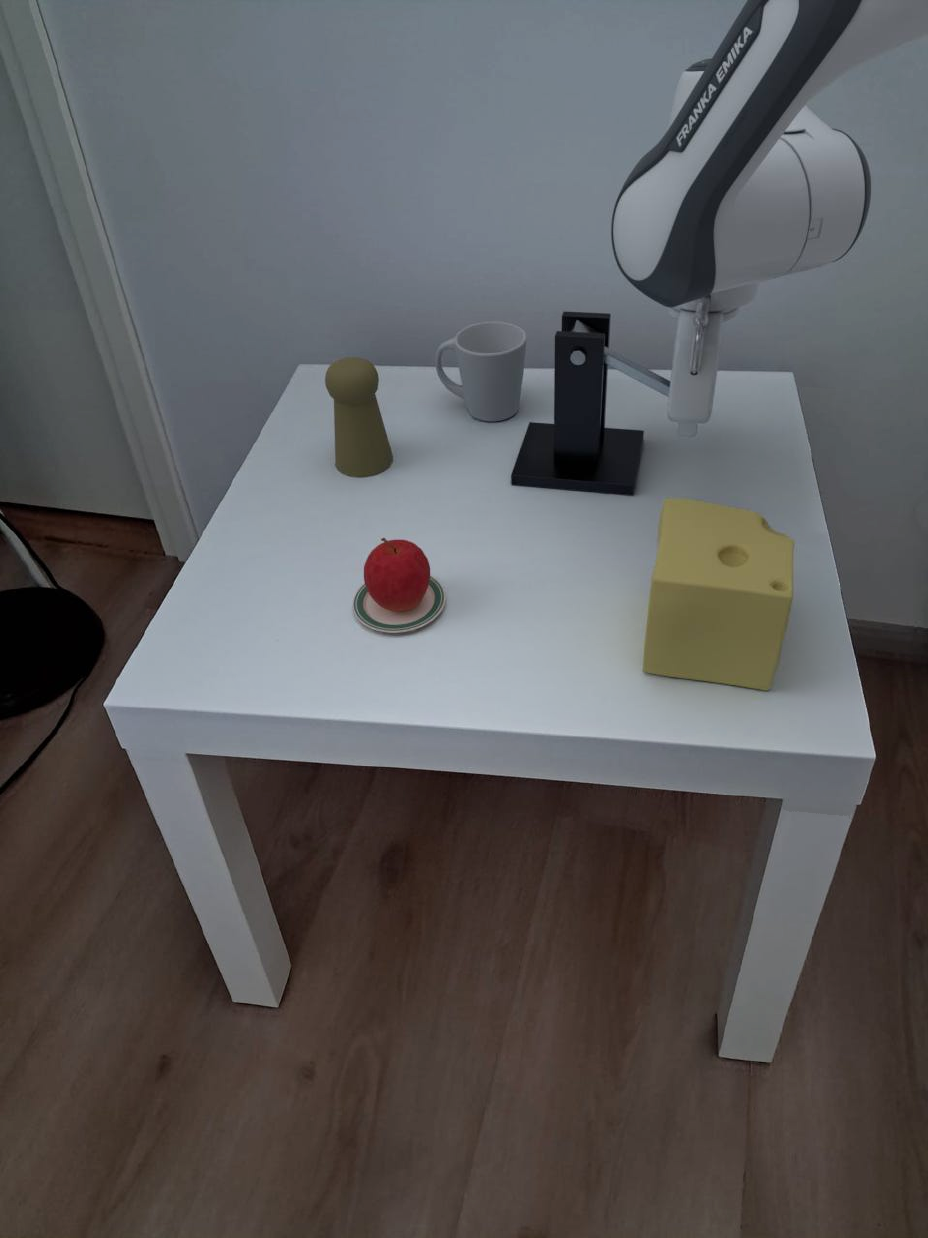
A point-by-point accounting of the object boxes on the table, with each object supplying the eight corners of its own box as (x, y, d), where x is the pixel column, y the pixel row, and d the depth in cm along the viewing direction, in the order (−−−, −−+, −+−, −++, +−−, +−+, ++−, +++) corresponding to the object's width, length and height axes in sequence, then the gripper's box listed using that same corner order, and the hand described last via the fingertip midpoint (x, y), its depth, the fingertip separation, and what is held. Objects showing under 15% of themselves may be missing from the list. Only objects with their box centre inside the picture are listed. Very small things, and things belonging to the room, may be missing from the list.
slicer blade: (696, 402, 90) (710, 383, 89) (693, 429, 87) (707, 410, 85) (567, 333, 89) (579, 312, 87) (558, 358, 85) (571, 337, 84)
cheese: (778, 606, 78) (801, 508, 71) (773, 700, 70) (798, 601, 64) (652, 589, 80) (662, 493, 73) (634, 678, 73) (644, 580, 66)
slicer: (643, 440, 97) (654, 303, 87) (633, 495, 90) (644, 354, 80) (529, 431, 100) (528, 297, 90) (511, 485, 93) (507, 346, 83)
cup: (519, 430, 100) (517, 356, 94) (430, 422, 102) (423, 349, 97) (534, 394, 105) (533, 323, 100) (449, 387, 108) (443, 317, 102)
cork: (333, 449, 99) (316, 353, 92) (389, 441, 100) (377, 345, 93) (337, 480, 95) (320, 383, 88) (396, 472, 96) (384, 374, 88)
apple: (365, 571, 84) (355, 513, 80) (453, 577, 83) (448, 517, 78) (343, 633, 78) (331, 573, 74) (436, 639, 77) (430, 579, 73)
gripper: (742, 328, 71) (718, 479, 81) (747, 227, 86) (726, 365, 95) (658, 323, 73) (644, 473, 82) (677, 224, 87) (663, 361, 96)
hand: (688, 414), depth 89 cm, fingers closed on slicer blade, 5 cm apart
